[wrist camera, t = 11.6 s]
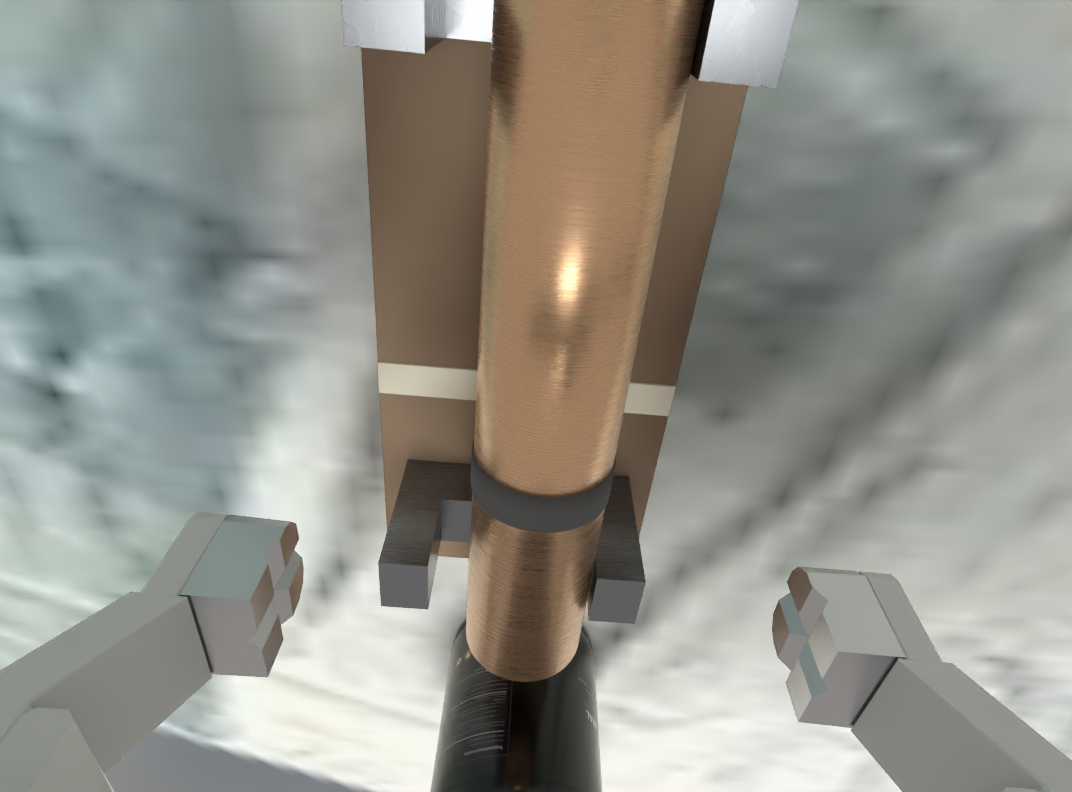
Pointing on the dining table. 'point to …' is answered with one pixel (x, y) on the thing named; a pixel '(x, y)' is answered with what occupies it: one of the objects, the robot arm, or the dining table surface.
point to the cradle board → (457, 245)
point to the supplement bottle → (518, 728)
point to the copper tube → (563, 300)
